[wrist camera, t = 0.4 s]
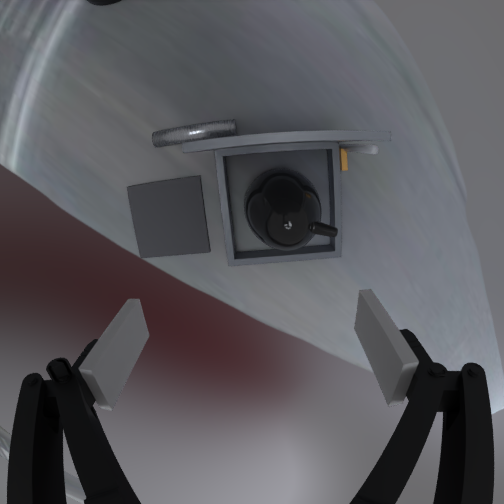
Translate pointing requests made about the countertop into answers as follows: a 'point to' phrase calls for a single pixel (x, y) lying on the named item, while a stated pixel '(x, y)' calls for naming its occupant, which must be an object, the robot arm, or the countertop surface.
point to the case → (287, 143)
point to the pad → (169, 217)
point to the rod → (194, 133)
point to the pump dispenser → (285, 210)
